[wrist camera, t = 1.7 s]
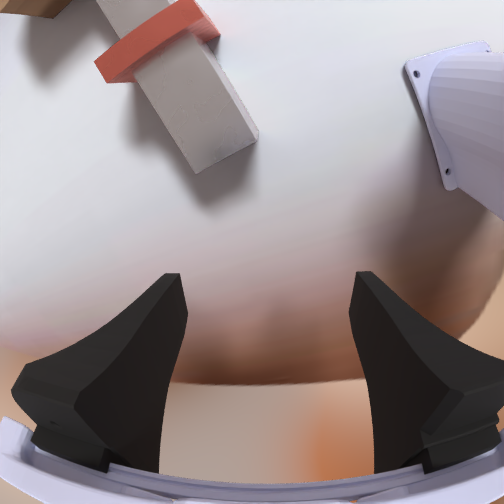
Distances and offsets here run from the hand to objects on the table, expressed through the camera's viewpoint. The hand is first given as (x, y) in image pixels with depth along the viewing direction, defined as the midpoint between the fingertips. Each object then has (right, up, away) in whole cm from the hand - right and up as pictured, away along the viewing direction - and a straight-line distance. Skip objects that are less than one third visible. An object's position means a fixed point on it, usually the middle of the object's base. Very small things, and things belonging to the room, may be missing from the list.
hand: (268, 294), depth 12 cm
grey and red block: (-6, +14, +3) cm, 16 cm away
